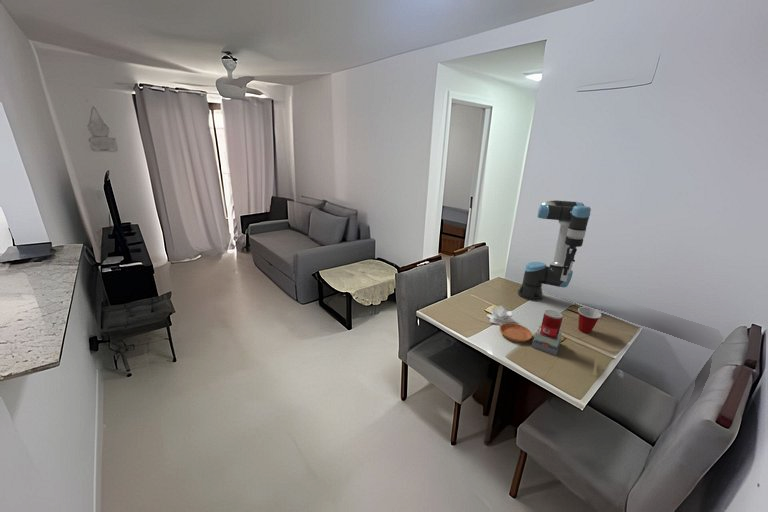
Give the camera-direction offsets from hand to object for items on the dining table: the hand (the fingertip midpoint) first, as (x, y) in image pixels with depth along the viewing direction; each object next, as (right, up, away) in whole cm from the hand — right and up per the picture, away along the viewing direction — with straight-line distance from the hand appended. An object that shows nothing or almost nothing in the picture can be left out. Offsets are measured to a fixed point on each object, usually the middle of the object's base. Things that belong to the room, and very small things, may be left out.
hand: (565, 276), depth 157 cm
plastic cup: (+16, -31, +10) cm, 36 cm away
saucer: (-25, -32, +4) cm, 40 cm away
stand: (-12, -34, -4) cm, 37 cm away
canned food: (-12, -28, -6) cm, 31 cm away
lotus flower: (-27, -27, +18) cm, 42 cm away
